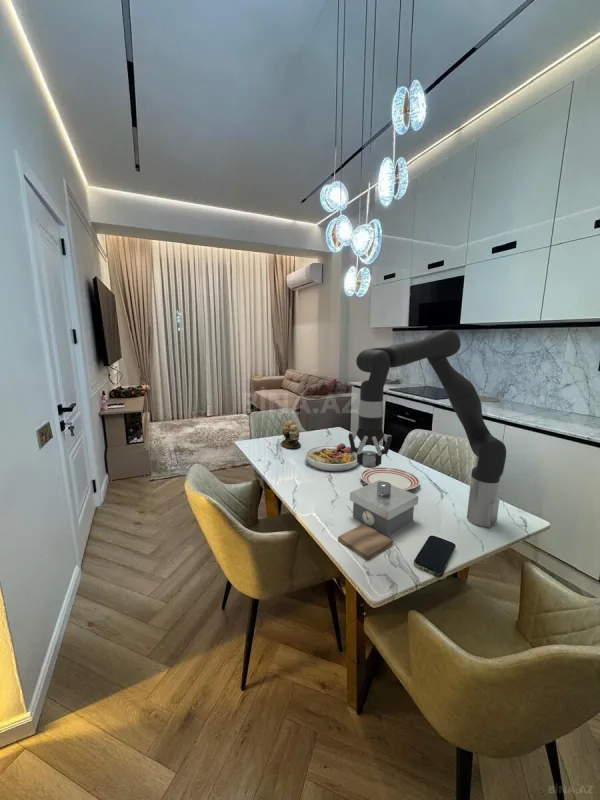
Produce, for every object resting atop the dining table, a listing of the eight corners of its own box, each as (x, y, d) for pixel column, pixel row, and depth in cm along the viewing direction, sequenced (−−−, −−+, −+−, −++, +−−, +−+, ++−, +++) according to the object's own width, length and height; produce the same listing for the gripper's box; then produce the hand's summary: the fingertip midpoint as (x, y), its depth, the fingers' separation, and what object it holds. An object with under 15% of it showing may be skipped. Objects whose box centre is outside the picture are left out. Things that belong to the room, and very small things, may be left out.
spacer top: (379, 465, 106) (380, 453, 106) (369, 469, 103) (370, 457, 103) (368, 461, 110) (368, 449, 110) (357, 464, 107) (358, 452, 107)
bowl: (347, 478, 164) (348, 463, 162) (295, 466, 179) (295, 452, 177) (367, 459, 189) (367, 446, 188) (320, 450, 204) (320, 438, 203)
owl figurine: (305, 448, 207) (305, 422, 203) (288, 451, 201) (288, 424, 198) (293, 440, 222) (293, 415, 219) (277, 443, 217) (276, 417, 214)
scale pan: (417, 503, 124) (418, 496, 124) (388, 520, 113) (388, 511, 113) (379, 487, 138) (379, 479, 138) (349, 500, 127) (350, 492, 127)
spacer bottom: (393, 494, 125) (393, 484, 124) (384, 498, 122) (385, 488, 121) (382, 490, 129) (383, 480, 128) (374, 493, 126) (374, 483, 125)
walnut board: (393, 544, 111) (393, 540, 111) (367, 560, 103) (367, 556, 103) (363, 527, 121) (363, 523, 121) (338, 540, 113) (338, 536, 113)
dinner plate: (370, 467, 177) (371, 462, 176) (424, 479, 163) (425, 472, 162) (351, 487, 153) (351, 480, 153) (412, 502, 140) (412, 495, 139)
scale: (412, 520, 126) (414, 500, 124) (384, 536, 115) (386, 515, 114) (379, 503, 138) (380, 486, 137) (351, 517, 128) (351, 498, 126)
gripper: (393, 412, 106) (390, 462, 109) (348, 410, 109) (347, 459, 112) (395, 417, 99) (392, 471, 102) (347, 415, 102) (345, 467, 105)
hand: (368, 464), depth 107 cm, fingers closed on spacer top, 5 cm apart
